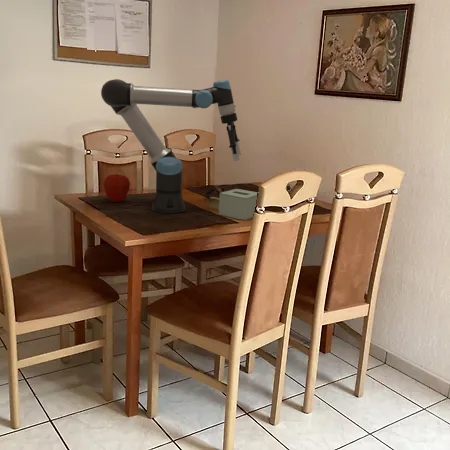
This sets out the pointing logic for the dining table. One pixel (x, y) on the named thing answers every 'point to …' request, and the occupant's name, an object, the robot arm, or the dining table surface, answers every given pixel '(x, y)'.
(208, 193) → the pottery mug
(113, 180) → the apple
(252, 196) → the coin box
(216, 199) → the beige flat block
